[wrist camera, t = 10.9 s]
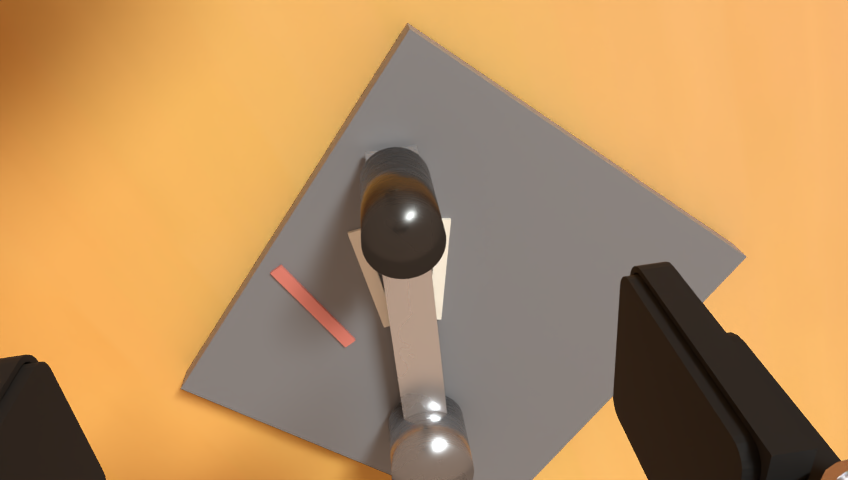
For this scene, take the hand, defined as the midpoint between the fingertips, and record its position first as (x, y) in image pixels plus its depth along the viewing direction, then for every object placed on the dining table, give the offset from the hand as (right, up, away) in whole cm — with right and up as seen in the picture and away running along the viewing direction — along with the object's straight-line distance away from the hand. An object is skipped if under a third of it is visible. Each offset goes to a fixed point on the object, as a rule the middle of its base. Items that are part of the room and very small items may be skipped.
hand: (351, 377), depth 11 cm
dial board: (+3, -2, +27) cm, 27 cm away
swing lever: (+1, -2, +25) cm, 25 cm away
